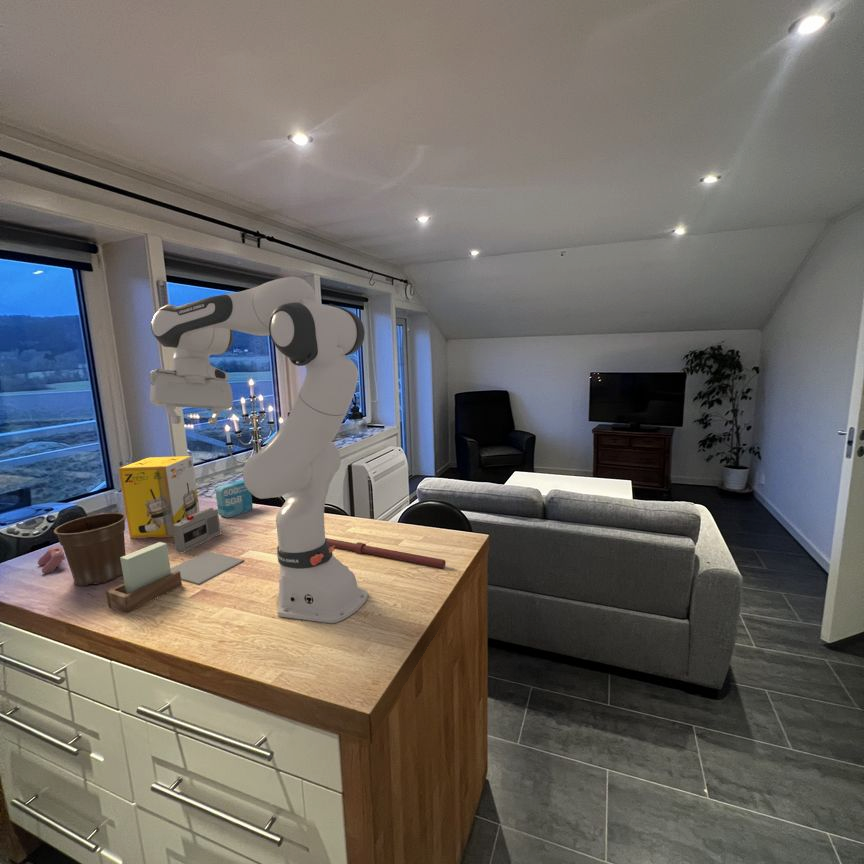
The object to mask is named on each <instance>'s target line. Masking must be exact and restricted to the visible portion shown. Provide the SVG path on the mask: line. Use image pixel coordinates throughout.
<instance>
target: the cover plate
mask: <svg viewBox="0 0 864 864" xmlns="http://www.w3.org/2000/svg"><path fill="white" fill-rule="evenodd" d="M167 545H168V544H167V543H165V542H162V541H158V542H156V543H154V544H150V545H148V546H146V547H143V548H140V549H138V550H135V551H133V552H130V553H127V554H126V555H125V556H123V557H120V560H121V566H122V571H123V574H122V576H123V582H124V583H125V589H126V594H129V593H131V592H133V591H135V590H137V589H139V588H141V587H143V586H146V585H148V584H150V583H152V582H154V581H156V580H158V579H161V578H163V577H165V576H167V575H169V574H171V570H170V568H171V564H170V557H169V549H168V546H167Z"/></svg>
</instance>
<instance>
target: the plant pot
mask: <svg viewBox="0 0 864 864" xmlns="http://www.w3.org/2000/svg"><path fill="white" fill-rule="evenodd" d="M126 519H127V516H126V513H122V512H105V513H97V514H92V515H88V516H83V517H79V518H76V519H73V520H70V521H67V522H65V523H63V524H61V525H58V526H57V527H56V528H54V530H53V533H54V535H56V536H57V539H58V541H59V544H60V545H59V546H61V547H62V550H63V552H64V556H65V557H66V558H65V559H66V561H67V563H68V566H69V569H70V573H71V575H72V579H73V582H74V584H75V585H76V586H81V587H85V586H86V587H88V586H89V585H91V584H95V585H98V584H102V583H106V582H109V581H111V580H114V579H116V578H118V577H119V576H122V575H123V571H122V566H121V560H120V557H123V556H125V555H127V554H126V543H125V531H126V521H125V520H126Z"/></svg>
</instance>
